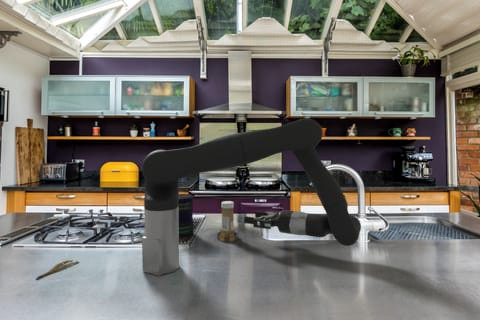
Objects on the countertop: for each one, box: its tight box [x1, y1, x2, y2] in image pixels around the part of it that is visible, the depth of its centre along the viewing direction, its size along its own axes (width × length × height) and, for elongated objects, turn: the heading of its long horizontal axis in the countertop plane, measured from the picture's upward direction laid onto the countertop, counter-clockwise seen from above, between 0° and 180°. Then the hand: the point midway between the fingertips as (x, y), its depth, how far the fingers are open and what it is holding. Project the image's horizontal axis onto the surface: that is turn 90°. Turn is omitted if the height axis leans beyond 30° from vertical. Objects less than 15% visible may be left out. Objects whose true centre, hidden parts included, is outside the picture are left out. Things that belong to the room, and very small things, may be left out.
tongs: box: [35, 260, 80, 281], centre depth 84 cm, size 4×13×2 cm, turn 170°
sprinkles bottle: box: [221, 200, 235, 236], centre depth 112 cm, size 5×5×13 cm
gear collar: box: [216, 228, 238, 242], centre depth 112 cm, size 7×7×2 cm
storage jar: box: [178, 193, 195, 240], centre depth 115 cm, size 10×10×15 cm
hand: (250, 216), depth 107 cm, fingers open, 8 cm apart
